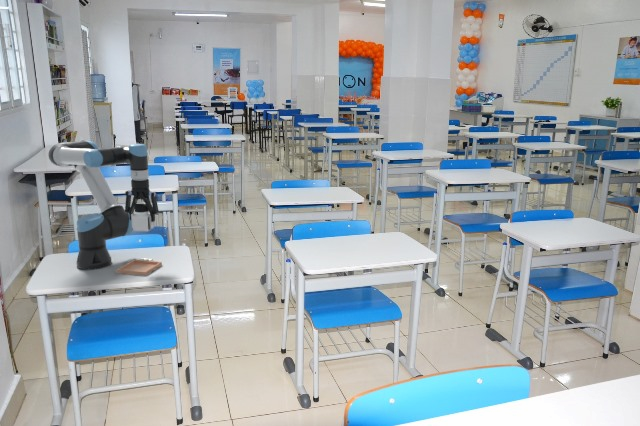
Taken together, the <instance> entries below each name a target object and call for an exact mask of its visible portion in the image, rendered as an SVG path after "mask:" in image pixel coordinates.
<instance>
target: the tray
mask: <svg viewBox="0 0 640 426" xmlns="http://www.w3.org/2000/svg"><path fill="white" fill-rule="evenodd" d="M162 263H163V262H162V261H157V260H156V261H155V260H154V261H153V260H152V261H145V260H139V259H133V260H131V261H129V262H128V263H125V264H124V265H122V266H121V267H119V268H117V269H116V273H117V274H124V275H125V274H127V275H137V276H147V275H149V274H150V273H152V272H153V271H155V270H157V269H158V268H160V267H161V266H162Z"/></svg>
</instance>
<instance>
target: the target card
mask: <svg viewBox="0 0 640 426" xmlns="http://www.w3.org/2000/svg"><path fill="white" fill-rule="evenodd" d="M138 260H145V261H153V258H145V257H144V258H143V257H141V258H139V259H138Z"/></svg>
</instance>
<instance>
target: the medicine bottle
mask: <svg viewBox="0 0 640 426" xmlns="http://www.w3.org/2000/svg"><path fill="white" fill-rule="evenodd" d="M134 213H135V214H134V215H133V216H132V223H133V231H132V232H149V231H151V229H150V226H149V215H150V212H149V210H148V208H147V206H146V204H145V202H139V203H138V202H137V204H136V205H135V210H134Z"/></svg>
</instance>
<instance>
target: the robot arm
mask: <svg viewBox="0 0 640 426" xmlns="http://www.w3.org/2000/svg"><path fill="white" fill-rule="evenodd" d="M147 148H148V147H147V145H146V144H144V143H132V144H131V143H130V144H129V146H126V145H117V146H115V147H108V148H99V147H98V145H97V144H96V143H95V142H94V141H92V140H78V141H66V142H64V141H63V142H59V143H55V144H54V145H53V146H51V147H50V149H49V151H48V153H47V154H48V155H47V156H48V159H49V161H50V162H51V164H53V165H55V166H58V167H74V168H75V170H76V172H79V173H81V176H82V177H83V179H84V181H85V184H86V185H87V188H88V189H89V191H90V193H91V195H92V197H93V199H94V201H95V202H96V205H97V207H98V209H99V211H100V213H99V212H98V213H89V214H85V215H82V216H81V217H79V218H78V219H77V220H76V231H77V240H78V242H77V243H78V248H79V249H78V254H77V258H76V268H77V269H80V270H85V271H86V270H98V269H99V270H100V269H103V268H106V267H108V266H110V265H111V264H112V256H111V255H110V253H109V250H108V248H107V243H106V242H107V241H108V240H112V239H117V238H120V237H125V236H127V235H131V234H132V232H134V231H133V223H132V216H133V215H134V214H135V205H136V204H138V201H139V200H142V201H143V203H145V204H146V206H147V208H148V210H149V212H150V215H149V226H150V230H153V229H154V227H155V226H154V224H155V223H154V222H155V221H156V216H155V215H157V214H159V206H158V201H157V191H151V190H150V180H149V178H150V176H149V162H148V161H149V159H148V153H149V152H148V149H147ZM122 164H127V165H130V166H129V168H130V169H129V170H130V178H131V180H130V181H131V183H130V184H131V190H130V189H129V190H125V192H124V193H125V205H124V206H125V207H123V205H121V204H118V202H117V200H116V198H115V195H114V194H113V192H112V191H111V188H110V186H109V185H108V183H107V180H106V178H105V176H104V175H103V172H102V170H101V168H100V167H106V166H114V165H122ZM132 195H133V197H132Z"/></svg>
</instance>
